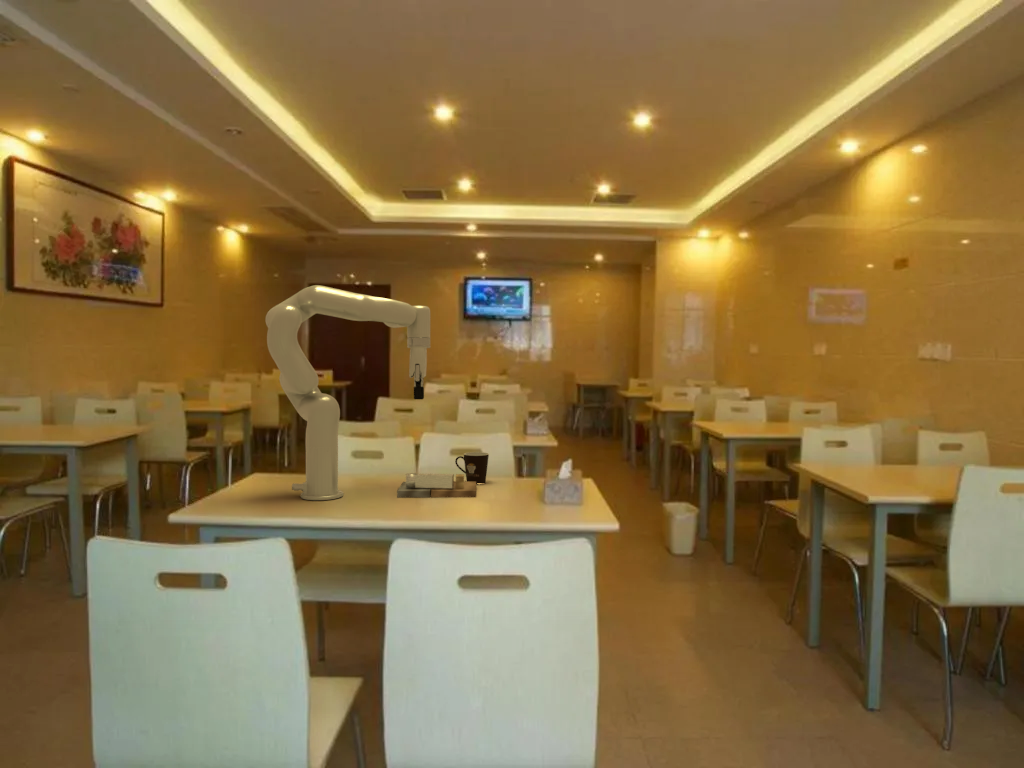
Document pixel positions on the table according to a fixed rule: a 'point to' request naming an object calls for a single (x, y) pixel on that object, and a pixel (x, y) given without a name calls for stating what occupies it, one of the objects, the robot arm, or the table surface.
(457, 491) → the wooden flat block
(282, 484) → the table surface
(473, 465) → the coffee mug
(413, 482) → the lock bar
